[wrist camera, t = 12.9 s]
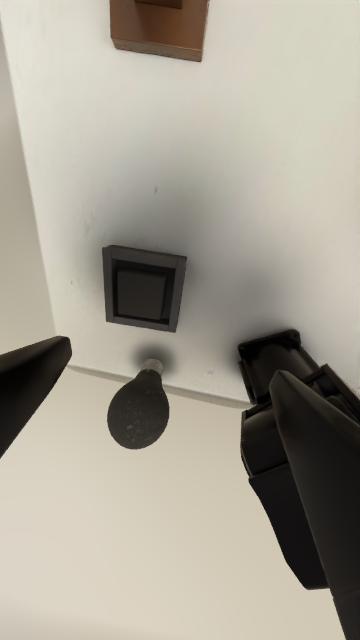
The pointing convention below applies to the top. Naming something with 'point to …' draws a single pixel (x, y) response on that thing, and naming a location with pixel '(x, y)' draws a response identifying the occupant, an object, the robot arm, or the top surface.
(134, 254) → the base pad
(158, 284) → the black block
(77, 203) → the top surface
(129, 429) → the light bulb
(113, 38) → the stand
